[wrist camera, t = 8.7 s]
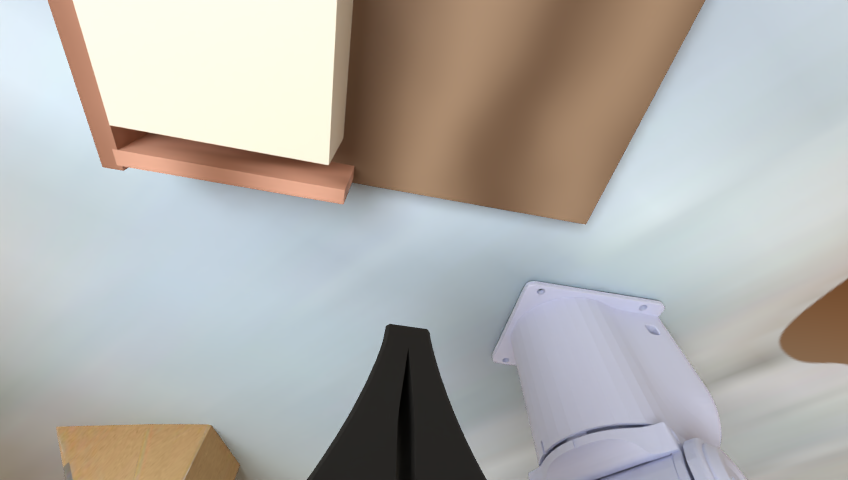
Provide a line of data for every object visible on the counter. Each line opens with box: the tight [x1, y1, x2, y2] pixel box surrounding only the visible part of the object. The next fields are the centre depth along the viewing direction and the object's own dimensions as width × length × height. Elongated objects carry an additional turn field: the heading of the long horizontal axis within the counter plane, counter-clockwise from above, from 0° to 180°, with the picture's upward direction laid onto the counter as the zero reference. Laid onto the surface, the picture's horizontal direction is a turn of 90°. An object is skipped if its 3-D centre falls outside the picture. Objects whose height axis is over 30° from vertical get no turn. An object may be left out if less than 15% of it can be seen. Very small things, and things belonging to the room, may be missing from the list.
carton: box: [73, 0, 353, 165], centre depth 13 cm, size 8×7×3 cm
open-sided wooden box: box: [48, 0, 705, 224], centre depth 15 cm, size 22×12×4 cm, turn 79°
